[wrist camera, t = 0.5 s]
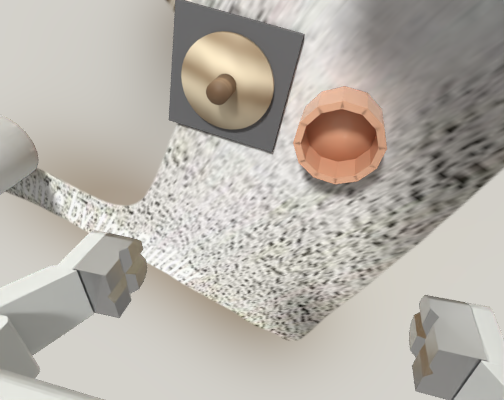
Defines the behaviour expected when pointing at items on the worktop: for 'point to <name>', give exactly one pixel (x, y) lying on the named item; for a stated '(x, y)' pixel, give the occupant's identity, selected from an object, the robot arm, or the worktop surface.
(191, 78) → the lid
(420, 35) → the worktop surface
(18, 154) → the utensil holder
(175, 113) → the mat
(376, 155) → the bowl
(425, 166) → the worktop surface
